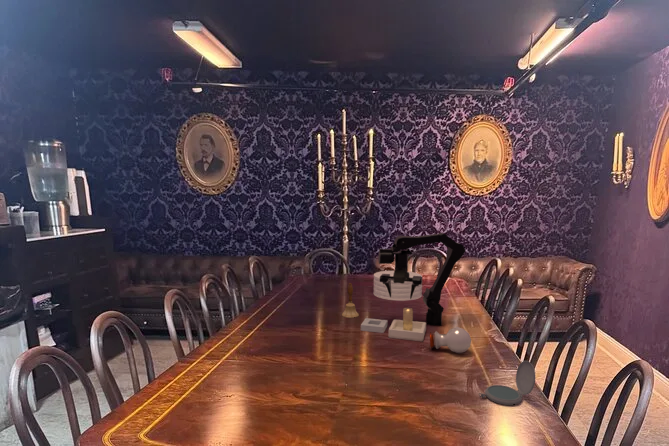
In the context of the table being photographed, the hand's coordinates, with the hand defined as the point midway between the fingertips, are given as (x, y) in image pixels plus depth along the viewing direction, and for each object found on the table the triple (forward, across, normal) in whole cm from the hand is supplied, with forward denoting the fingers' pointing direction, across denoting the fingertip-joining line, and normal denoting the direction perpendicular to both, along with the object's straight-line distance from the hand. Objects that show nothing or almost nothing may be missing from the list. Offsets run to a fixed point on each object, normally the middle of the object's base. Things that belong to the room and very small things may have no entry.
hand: (400, 297), depth 189 cm
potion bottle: (+12, +23, -27) cm, 37 cm away
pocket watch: (+12, +39, -59) cm, 72 cm away
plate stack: (+12, -9, +53) cm, 55 cm away
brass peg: (+11, +5, -13) cm, 18 cm away
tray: (+12, +5, -13) cm, 18 cm away
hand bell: (+12, -25, +5) cm, 28 cm away
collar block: (+12, -10, -10) cm, 18 cm away
